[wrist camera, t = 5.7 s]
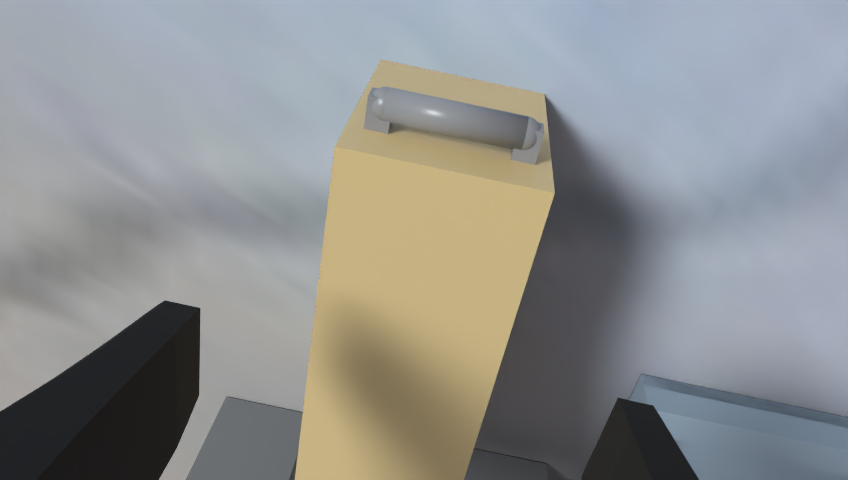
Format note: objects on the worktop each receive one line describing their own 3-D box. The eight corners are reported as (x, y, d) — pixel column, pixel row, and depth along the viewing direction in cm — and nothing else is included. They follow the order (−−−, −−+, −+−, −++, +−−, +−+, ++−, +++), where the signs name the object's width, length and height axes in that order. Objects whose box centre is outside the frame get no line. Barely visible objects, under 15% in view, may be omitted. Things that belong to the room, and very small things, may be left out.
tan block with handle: (553, 59, 17) (567, 152, 13) (463, 378, 23) (450, 522, 18) (386, 24, 17) (339, 104, 13) (338, 352, 23) (293, 489, 18)
